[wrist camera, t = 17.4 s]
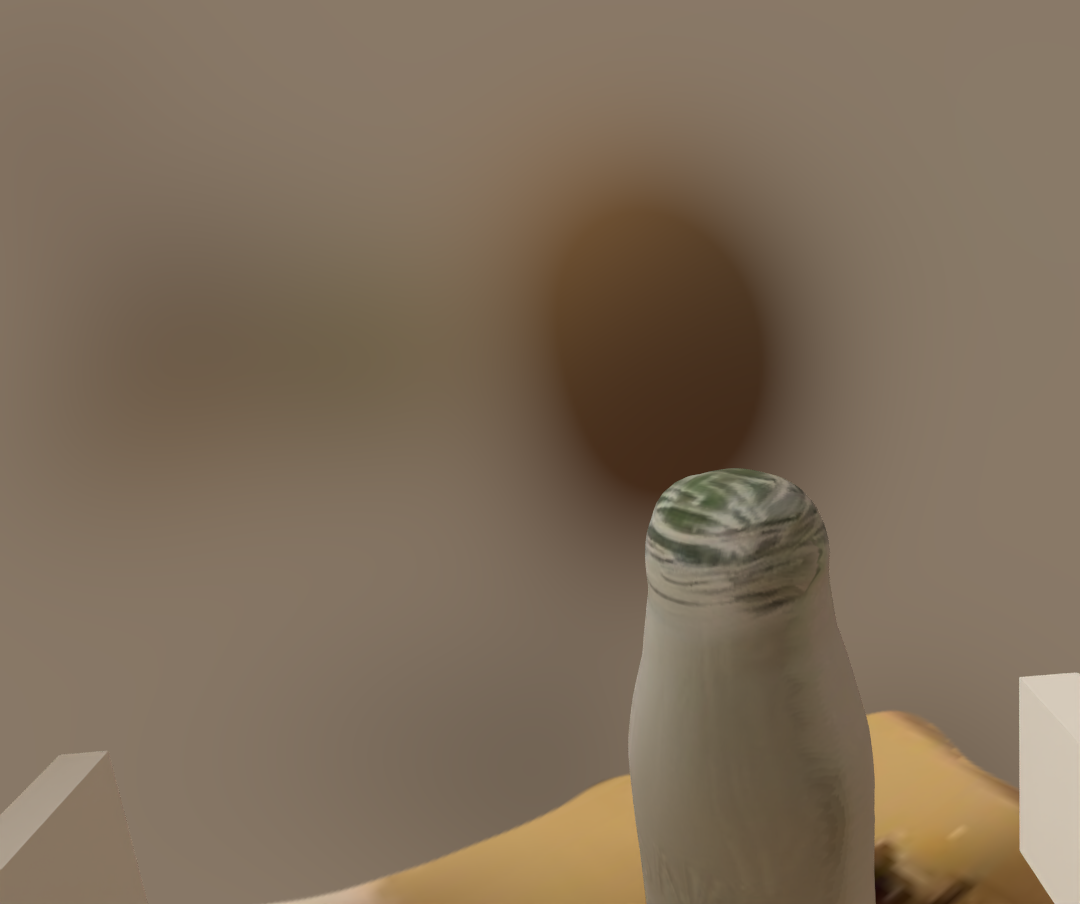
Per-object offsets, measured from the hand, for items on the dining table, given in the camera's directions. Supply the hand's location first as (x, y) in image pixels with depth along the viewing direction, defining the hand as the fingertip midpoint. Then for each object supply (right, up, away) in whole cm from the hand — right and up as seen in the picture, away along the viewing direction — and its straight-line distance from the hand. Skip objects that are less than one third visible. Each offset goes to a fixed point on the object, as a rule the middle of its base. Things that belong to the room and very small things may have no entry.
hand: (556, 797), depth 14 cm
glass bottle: (+11, -23, +32) cm, 41 cm away
